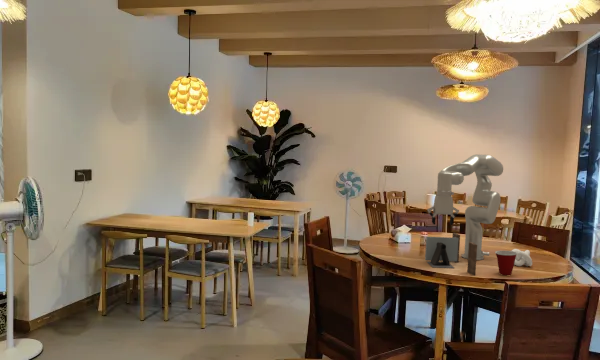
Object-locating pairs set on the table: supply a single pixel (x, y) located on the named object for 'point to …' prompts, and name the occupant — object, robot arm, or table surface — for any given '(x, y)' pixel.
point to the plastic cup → (506, 261)
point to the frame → (471, 255)
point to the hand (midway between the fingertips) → (442, 224)
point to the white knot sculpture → (522, 258)
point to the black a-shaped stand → (440, 252)
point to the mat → (439, 266)
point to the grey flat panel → (449, 242)
